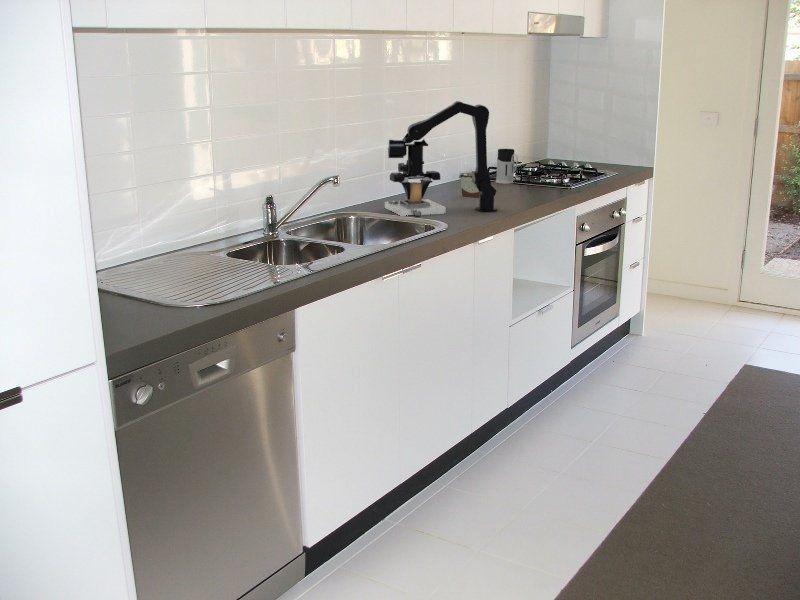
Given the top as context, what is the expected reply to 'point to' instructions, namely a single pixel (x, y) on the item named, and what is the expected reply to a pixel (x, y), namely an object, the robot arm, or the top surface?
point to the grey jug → (506, 166)
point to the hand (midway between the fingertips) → (415, 198)
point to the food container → (468, 186)
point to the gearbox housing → (414, 207)
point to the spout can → (415, 192)
